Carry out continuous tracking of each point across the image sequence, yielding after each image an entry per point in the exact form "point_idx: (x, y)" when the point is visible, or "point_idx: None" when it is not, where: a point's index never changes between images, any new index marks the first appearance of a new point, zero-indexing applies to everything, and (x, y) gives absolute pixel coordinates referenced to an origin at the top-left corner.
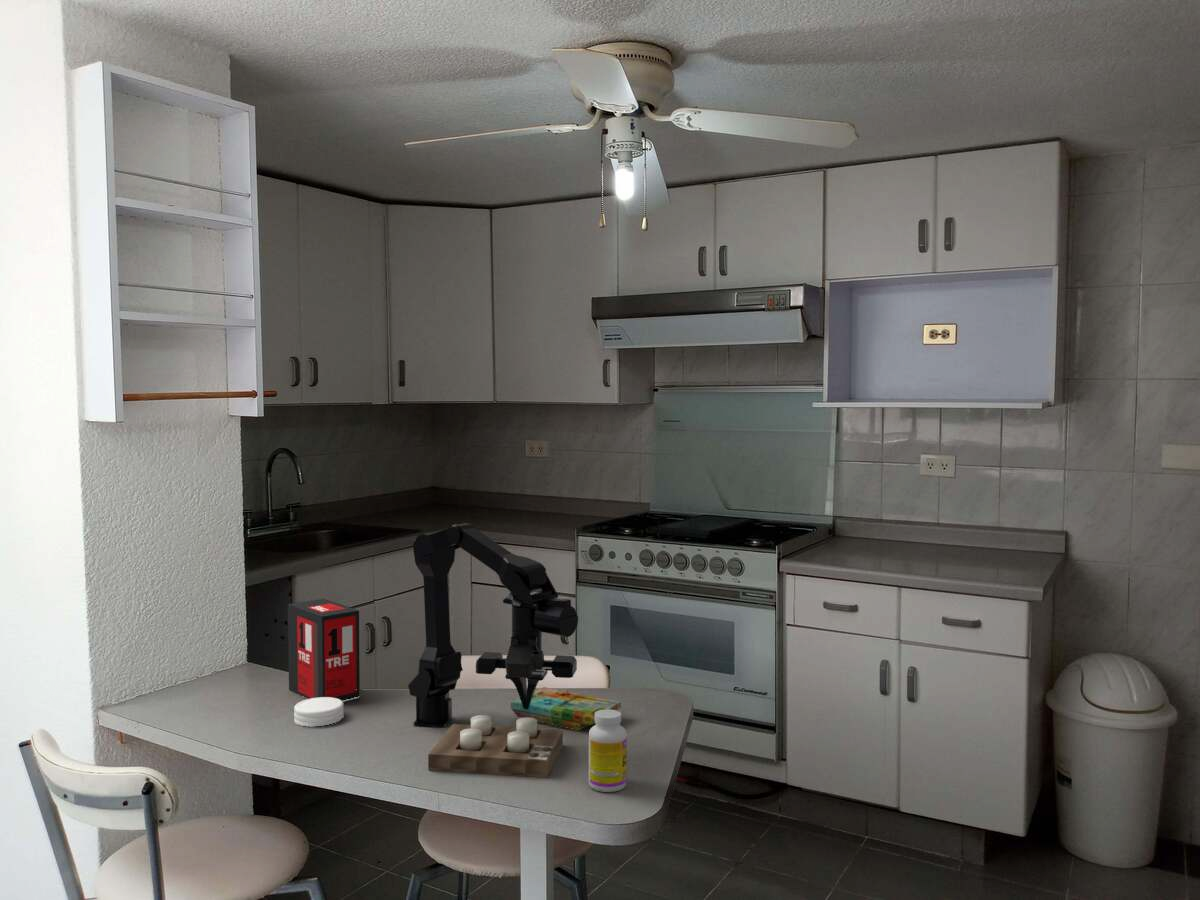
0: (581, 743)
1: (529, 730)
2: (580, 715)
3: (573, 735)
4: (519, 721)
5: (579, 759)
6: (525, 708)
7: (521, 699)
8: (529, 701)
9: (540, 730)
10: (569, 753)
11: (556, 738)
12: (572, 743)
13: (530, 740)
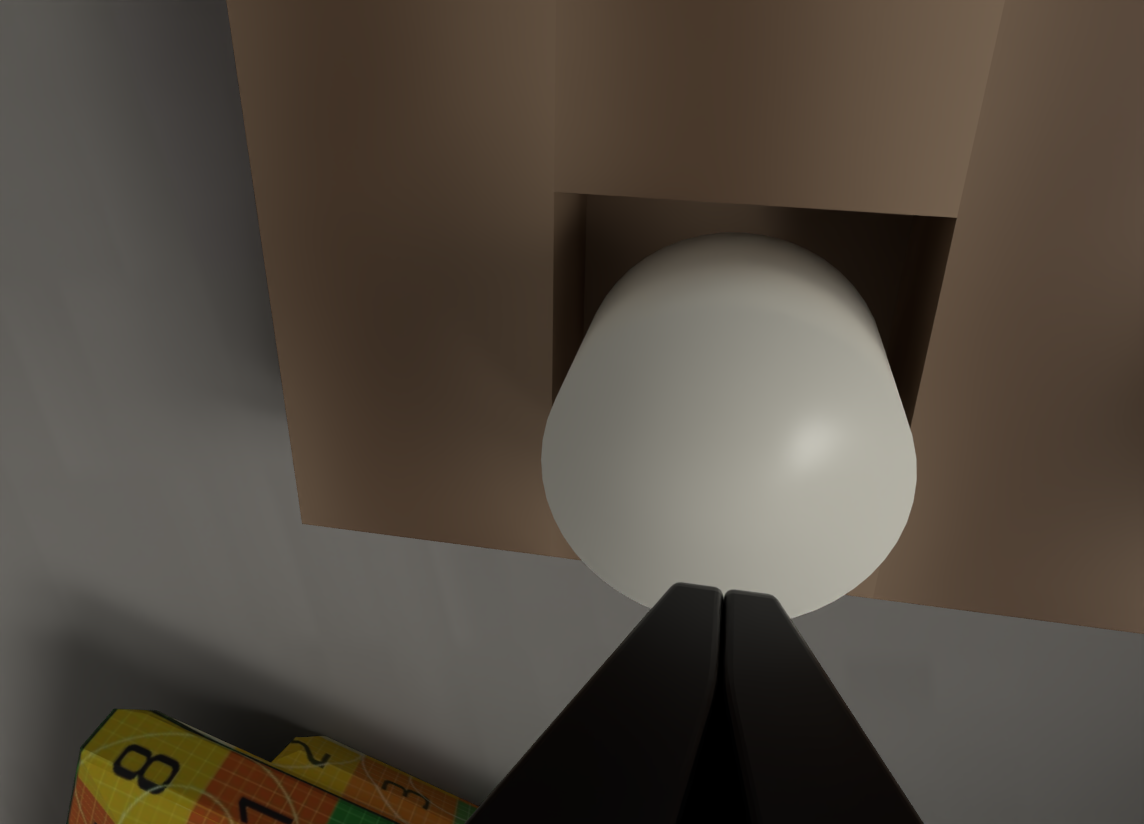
0: (219, 475)
1: (658, 278)
2: (217, 820)
3: (342, 644)
4: (854, 457)
5: (90, 44)
6: (733, 593)
7: (853, 755)
8: (599, 683)
9: None
10: (246, 215)
11: (287, 231)
12: None
13: (633, 108)
